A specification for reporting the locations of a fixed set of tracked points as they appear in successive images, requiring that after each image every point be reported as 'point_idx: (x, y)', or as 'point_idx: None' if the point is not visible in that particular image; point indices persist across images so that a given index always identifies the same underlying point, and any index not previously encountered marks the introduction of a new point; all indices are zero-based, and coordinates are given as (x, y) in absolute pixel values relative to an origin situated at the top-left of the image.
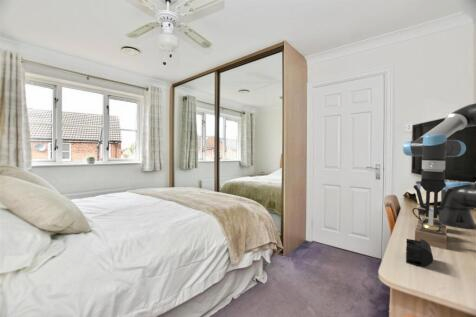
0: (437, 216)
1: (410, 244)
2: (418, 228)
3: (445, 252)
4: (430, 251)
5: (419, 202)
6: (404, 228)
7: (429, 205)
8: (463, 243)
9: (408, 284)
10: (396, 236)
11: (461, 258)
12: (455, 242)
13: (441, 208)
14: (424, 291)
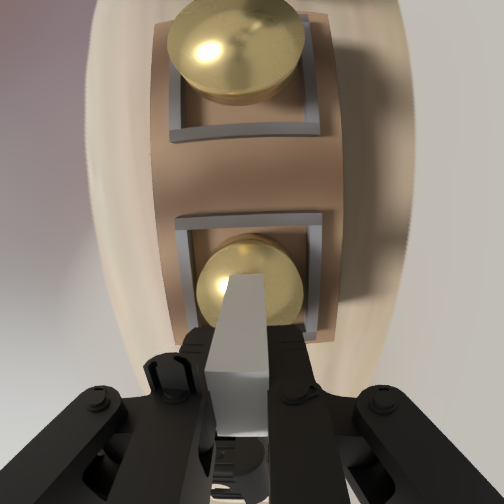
0: (293, 65)
1: (219, 494)
2: (176, 274)
3: (311, 347)
4: (266, 493)
5: (88, 486)
6: (113, 80)
7: (195, 432)
8: (390, 135)
9: (241, 499)
10: (112, 277)
11: (354, 365)
12: (361, 144)
13: (361, 465)
14: (262, 501)
